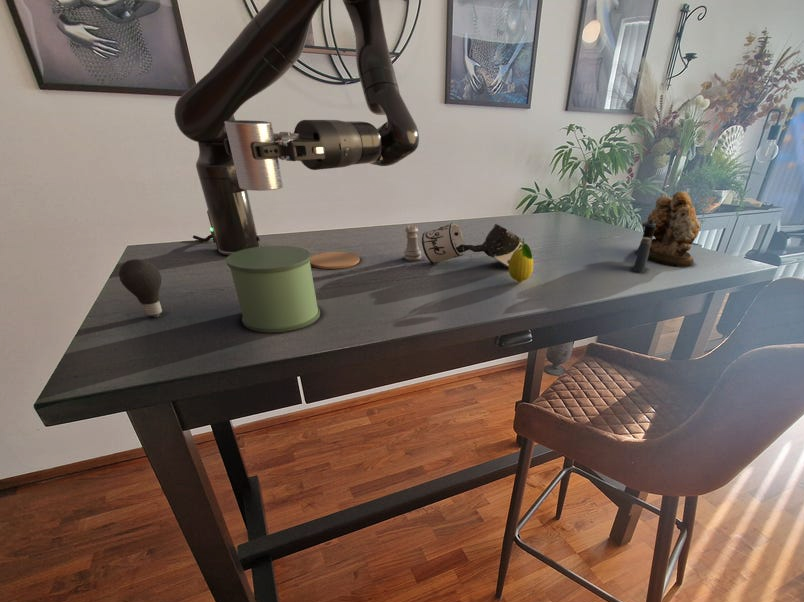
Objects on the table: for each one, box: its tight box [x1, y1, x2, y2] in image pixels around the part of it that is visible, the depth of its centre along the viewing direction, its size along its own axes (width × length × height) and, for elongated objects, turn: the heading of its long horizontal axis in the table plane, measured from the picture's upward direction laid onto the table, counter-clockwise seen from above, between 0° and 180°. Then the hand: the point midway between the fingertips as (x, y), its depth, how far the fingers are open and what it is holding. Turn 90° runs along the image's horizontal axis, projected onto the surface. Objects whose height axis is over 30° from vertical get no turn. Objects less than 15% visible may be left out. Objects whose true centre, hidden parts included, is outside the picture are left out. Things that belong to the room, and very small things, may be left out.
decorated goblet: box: [421, 222, 526, 268], centre depth 107 cm, size 25×10×10 cm, turn 92°
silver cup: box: [224, 119, 284, 192], centre depth 68 cm, size 6×6×9 cm
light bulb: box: [118, 258, 163, 318], centre depth 75 cm, size 6×6×10 cm
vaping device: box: [633, 219, 656, 274], centre depth 109 cm, size 3×5×12 cm, turn 155°
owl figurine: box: [637, 190, 701, 267], centre depth 118 cm, size 18×12×17 cm, turn 27°
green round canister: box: [225, 245, 321, 334], centre depth 77 cm, size 13×13×11 cm
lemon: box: [508, 237, 534, 284], centre depth 97 cm, size 7×6×10 cm
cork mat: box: [310, 251, 361, 270], centre depth 107 cm, size 12×12×1 cm
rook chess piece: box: [403, 224, 422, 262], centre depth 109 cm, size 4×4×8 cm
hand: (239, 149), depth 66 cm, fingers closed on silver cup, 6 cm apart
